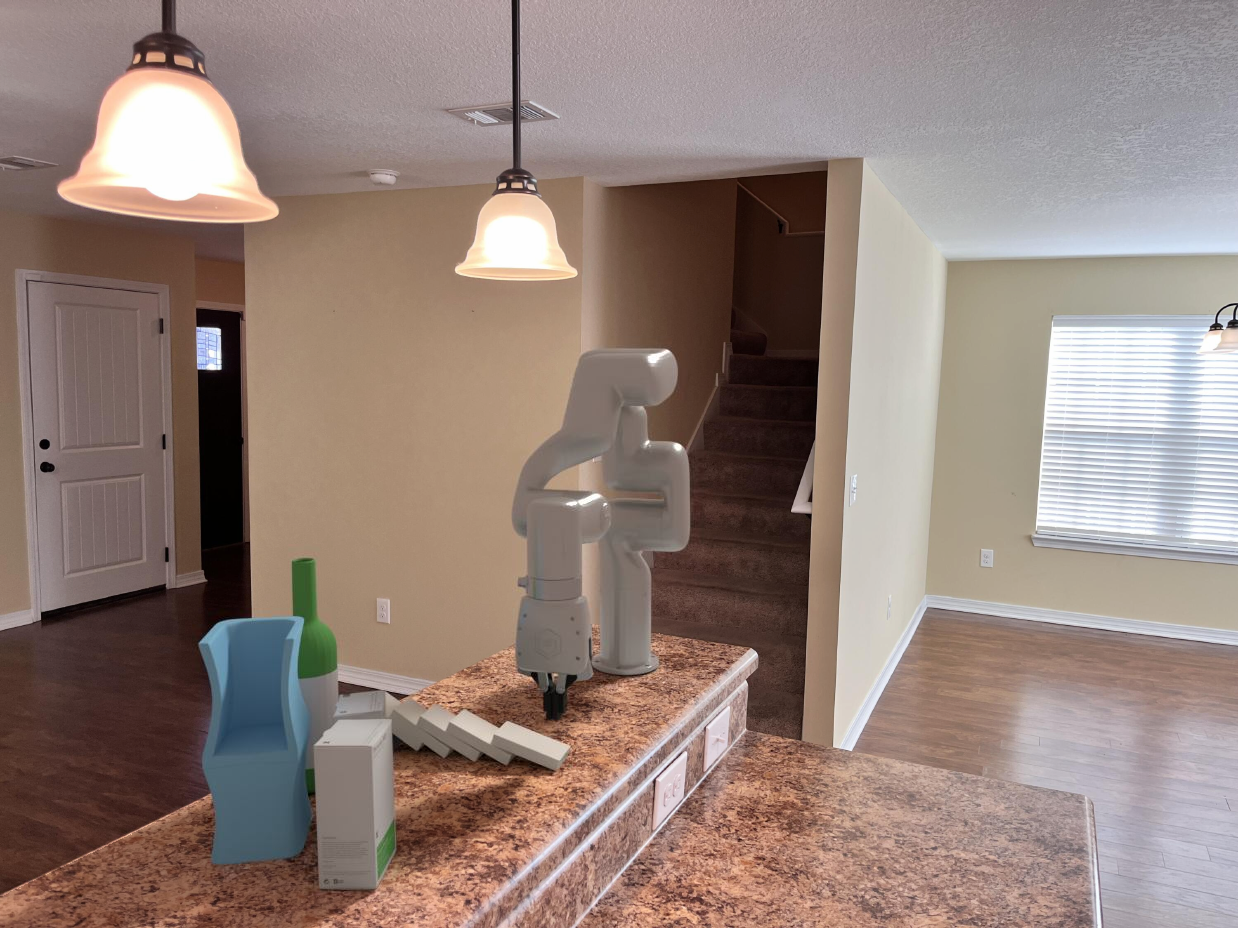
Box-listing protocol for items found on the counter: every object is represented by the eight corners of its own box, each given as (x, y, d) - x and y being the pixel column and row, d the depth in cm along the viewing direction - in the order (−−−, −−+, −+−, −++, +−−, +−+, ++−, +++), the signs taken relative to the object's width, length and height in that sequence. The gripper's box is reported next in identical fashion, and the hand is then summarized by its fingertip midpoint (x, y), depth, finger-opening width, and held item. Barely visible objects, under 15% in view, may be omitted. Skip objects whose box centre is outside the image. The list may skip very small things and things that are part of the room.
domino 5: (556, 770, 120) (490, 744, 122) (567, 756, 125) (504, 730, 127) (559, 760, 120) (493, 733, 122) (570, 746, 124) (507, 720, 126)
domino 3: (474, 761, 123) (415, 725, 124) (488, 747, 127) (431, 712, 129) (479, 752, 122) (420, 715, 124) (493, 738, 127) (435, 703, 129)
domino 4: (506, 765, 122) (445, 731, 123) (519, 750, 126) (460, 718, 128) (510, 755, 121) (449, 721, 123) (523, 741, 126) (464, 708, 128)
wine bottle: (337, 793, 113) (331, 564, 110) (273, 799, 111) (265, 567, 109) (343, 767, 121) (338, 553, 118) (284, 772, 119) (277, 555, 116)
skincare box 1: (388, 834, 103) (386, 711, 102) (334, 839, 102) (331, 715, 100) (390, 801, 111) (388, 687, 110) (340, 806, 110) (337, 690, 108)
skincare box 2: (376, 891, 91) (372, 747, 90) (313, 890, 91) (308, 746, 90) (398, 849, 100) (395, 716, 98) (340, 848, 100) (336, 715, 98)
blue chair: (206, 866, 96) (197, 643, 94) (227, 822, 105) (219, 619, 103) (301, 856, 98) (294, 638, 96) (313, 814, 108) (307, 615, 105)
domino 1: (417, 751, 125) (361, 710, 126) (433, 737, 130) (379, 698, 131) (422, 742, 124) (366, 702, 126) (437, 728, 129) (384, 690, 131)
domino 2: (444, 758, 124) (388, 717, 125) (459, 744, 129) (405, 705, 130) (449, 749, 123) (393, 709, 125) (464, 735, 128) (409, 696, 130)
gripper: (493, 590, 118) (494, 722, 120) (600, 597, 115) (599, 732, 116) (513, 578, 126) (514, 702, 127) (614, 584, 122) (613, 712, 124)
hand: (555, 716), depth 122 cm, fingers closed
